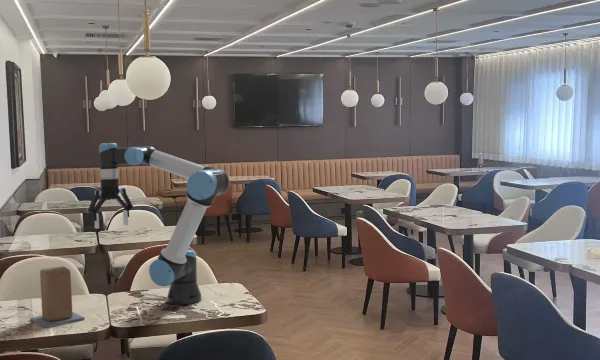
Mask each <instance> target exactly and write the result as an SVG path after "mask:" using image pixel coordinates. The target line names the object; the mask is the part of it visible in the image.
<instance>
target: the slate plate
mask: <svg viewBox="0 0 600 360" xmlns="http://www.w3.org/2000/svg"><path fill="white" fill-rule="evenodd" d="M72 314H73V315H72V317H71V318H67V319H61V320H56V321H47V320H46V319H45V318H44V317H43V316H42V315H37V316H33V317H30V319H29V320H30V321H31V322H33V323H35V324H37V325H38V326H40V327H43V329H47V328H54V327H58V326H62V324H63V325H66V323H67V324H72V323H77V322H80V320H81V321H85V320H84V319H86V318H85V317H84V316H82V315H80V314H78V313H76V312H74V311H72ZM71 322H72V323H71Z"/></svg>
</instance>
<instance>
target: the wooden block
mask: <svg viewBox="0 0 600 360" xmlns="http://www.w3.org/2000/svg"><path fill="white" fill-rule="evenodd" d="M71 273H72V272H71V269H69V268H67V267H65V266H56V267H55V266H54V267H47V268H42V269H40V270H39V275H40V276H39V279H40V292H41V293H40V295H41V297H40V299H41V300H40V301H41V314H42V316H43V317H44V318H45V319H46V320H47V321H56V320H61V319H67V318H71V317H72V315H73V314H72V312H73V299H72V298H73V297H72V279H71V278H72V277H71Z"/></svg>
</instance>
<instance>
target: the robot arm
mask: <svg viewBox="0 0 600 360" xmlns="http://www.w3.org/2000/svg"><path fill="white" fill-rule="evenodd" d="M98 156H99V168H100V169H99V172H100V173H99V174H100V176H99V177H100V178H101V179H100V190H96V189H95V190H94V191H93V197H92V199H91V202H90V204H89V206H88V209H87V212H88V213H90V214H91V215H92V216H91V217H92V222H94V229H97V230H98V229H100V214H99V213H98V212H99V211H100V209H101V207H102V206H103V204H104V203H105V202H106V201H110V200H111V201H112V200H115V201H117V202H118V204H119V205H120V206H121V207H122V208H123V209H122V214H123V215H122V217H123V218H122V221H123V223H122V224H123V225H124V226H128V225H129V220H128V219H129V217H130V211H131V210H132V209H133V208H134V206H133V204H132V202H131V200H130V197H129V195H128V194H127V191H126V188H123V187H121V188H119V187H120V185H119V183H120V182H119V181H120V180H119V166H121V165H123V166H126V165H127V166H129V165H130V166H136V165H140V164H143V165H147V166H151V167H153V168H156V169H158V170H162V171H165V172H167V173H171V174H173V175H176V176H179V177H182V178H184V179H187V182H186V188H187V192H186V194H185V197H186V198H187V201H186V203H185V205H184V208H183V210H182V212H181V215H180V216H179V218H178V221H177V223H176V226H175V228H174V230H173V232H172V234H171V236H170V239H169V241H168V243H167V246H166V247H165V248H162V249H161V250H160V253H158V254H159V255H158V257H157V259H155V260H153V261H152V262H151V263H150V265H149V268H148V274H149V276H150V279H151V280H152V282H153V283H154V284H155V285H157V286H159V287H168V286H169V289H168V291H167V292H168V293H167V296H166V299H167V300H166V302H167V303H168V304H171V305H182V306H183V305H190V304H197V303H199V302H201V301H202V293H201V290H200V288H199V285H198V279H197V278H198V275H197V274H198V273H197V271H198V270H197V254H196V251H195V250H193V249H189V248H190V246H191V243H192V241H193V239H194V237H195V234H196V232H197V231H198V228H199V226H200V224H201V222H202V219H203V217H204V215H205V213H206V211H207V208H210V207H212V206H213V204H214V202H215V201H216V198H217V197H218V196H221V195H223V194H225V193H226V192H227V190H228V189H229V188H230V177H229V175H228V173H227V172H226V171H225V170H224V169H221V168H218V167H215V166H211V165H205V166H203V165H201V164H198V163H195V162H192V161H189V160H187V159H183V158H180V157H177V156H175V155H172V154H169V153H166V152H164V151H163V152H162V151H160V150H157V149H156V148H155V147H153V146H150V145H144V146H143V145H142V146H129V147H127V146H125V147H124V146H123V147H118V144H117V143H115V142H108V143H107V142H104V143H100V144H99V151H98ZM119 194H121V196H122V198H121V197H120V195H119ZM99 197H100V198H99ZM98 199H99V200H98Z"/></svg>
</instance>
